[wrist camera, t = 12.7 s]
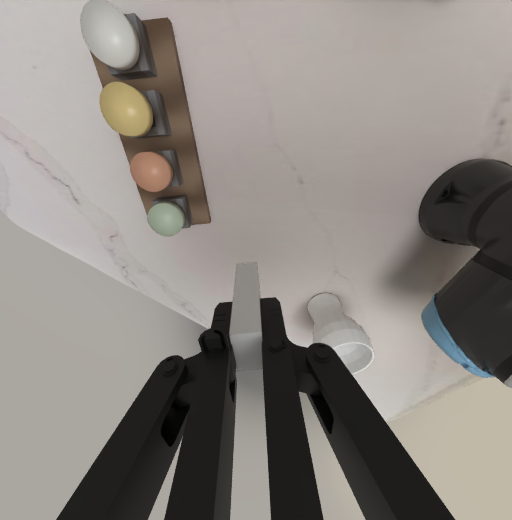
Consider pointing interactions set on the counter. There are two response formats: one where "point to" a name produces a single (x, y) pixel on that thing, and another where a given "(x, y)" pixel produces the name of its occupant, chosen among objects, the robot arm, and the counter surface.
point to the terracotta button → (151, 171)
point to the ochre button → (126, 109)
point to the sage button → (166, 218)
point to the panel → (163, 118)
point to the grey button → (109, 34)
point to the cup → (340, 332)
